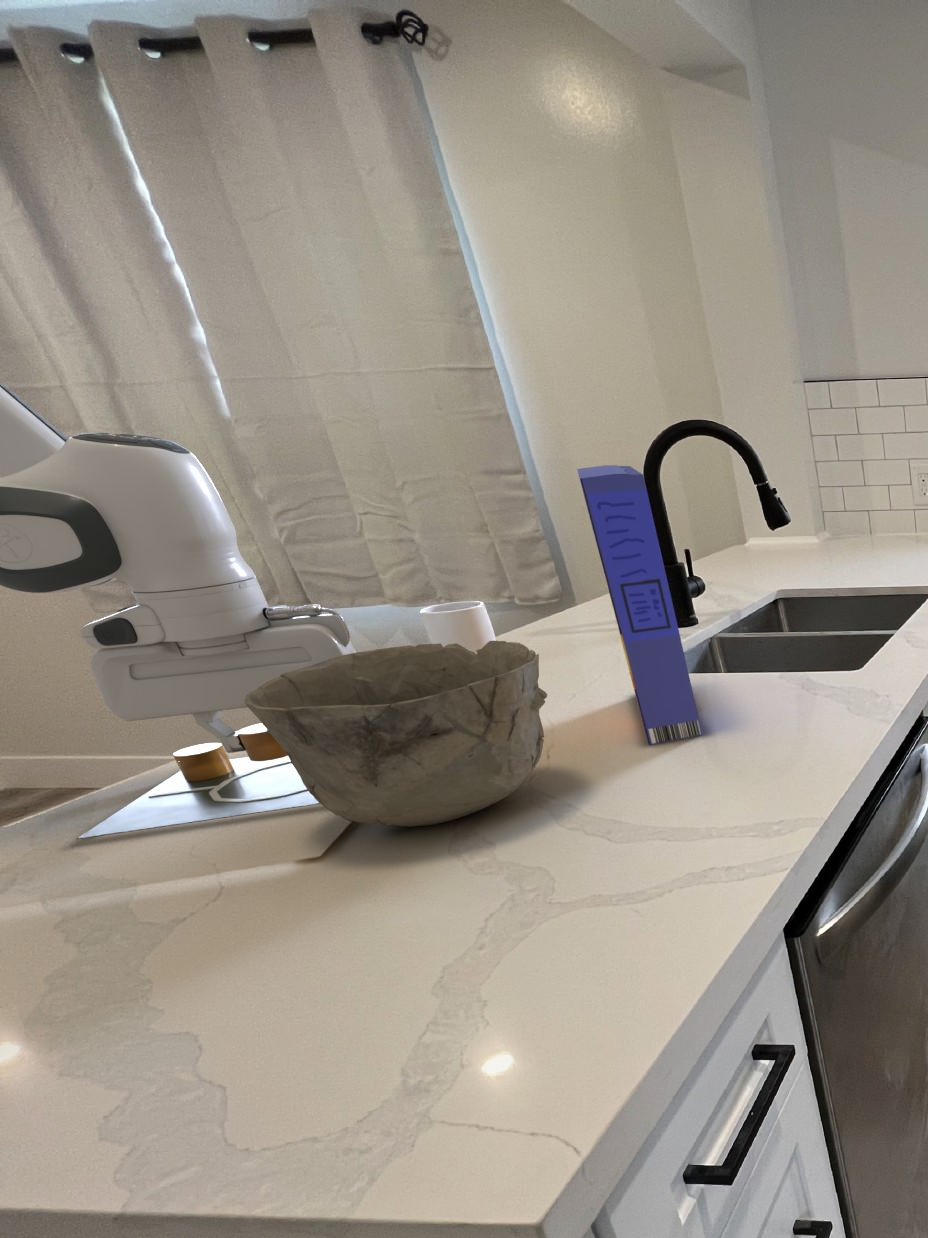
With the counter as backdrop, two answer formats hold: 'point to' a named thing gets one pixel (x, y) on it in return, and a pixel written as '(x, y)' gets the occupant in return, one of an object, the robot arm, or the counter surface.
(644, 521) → the cereal box
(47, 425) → the robot arm
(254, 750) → the orange white short cylinder
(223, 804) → the board
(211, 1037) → the counter surface
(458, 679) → the bowl
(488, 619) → the white plastic cylinder
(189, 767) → the short orange cylinder
